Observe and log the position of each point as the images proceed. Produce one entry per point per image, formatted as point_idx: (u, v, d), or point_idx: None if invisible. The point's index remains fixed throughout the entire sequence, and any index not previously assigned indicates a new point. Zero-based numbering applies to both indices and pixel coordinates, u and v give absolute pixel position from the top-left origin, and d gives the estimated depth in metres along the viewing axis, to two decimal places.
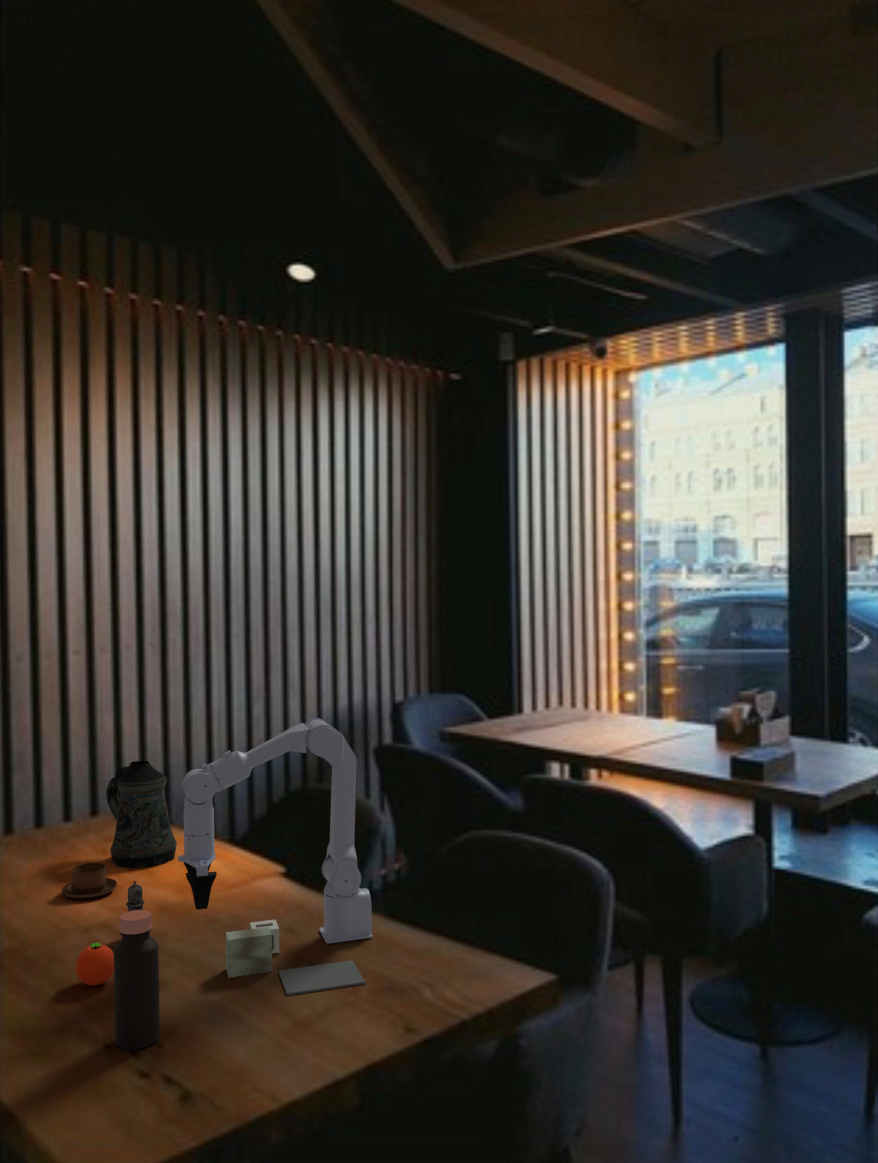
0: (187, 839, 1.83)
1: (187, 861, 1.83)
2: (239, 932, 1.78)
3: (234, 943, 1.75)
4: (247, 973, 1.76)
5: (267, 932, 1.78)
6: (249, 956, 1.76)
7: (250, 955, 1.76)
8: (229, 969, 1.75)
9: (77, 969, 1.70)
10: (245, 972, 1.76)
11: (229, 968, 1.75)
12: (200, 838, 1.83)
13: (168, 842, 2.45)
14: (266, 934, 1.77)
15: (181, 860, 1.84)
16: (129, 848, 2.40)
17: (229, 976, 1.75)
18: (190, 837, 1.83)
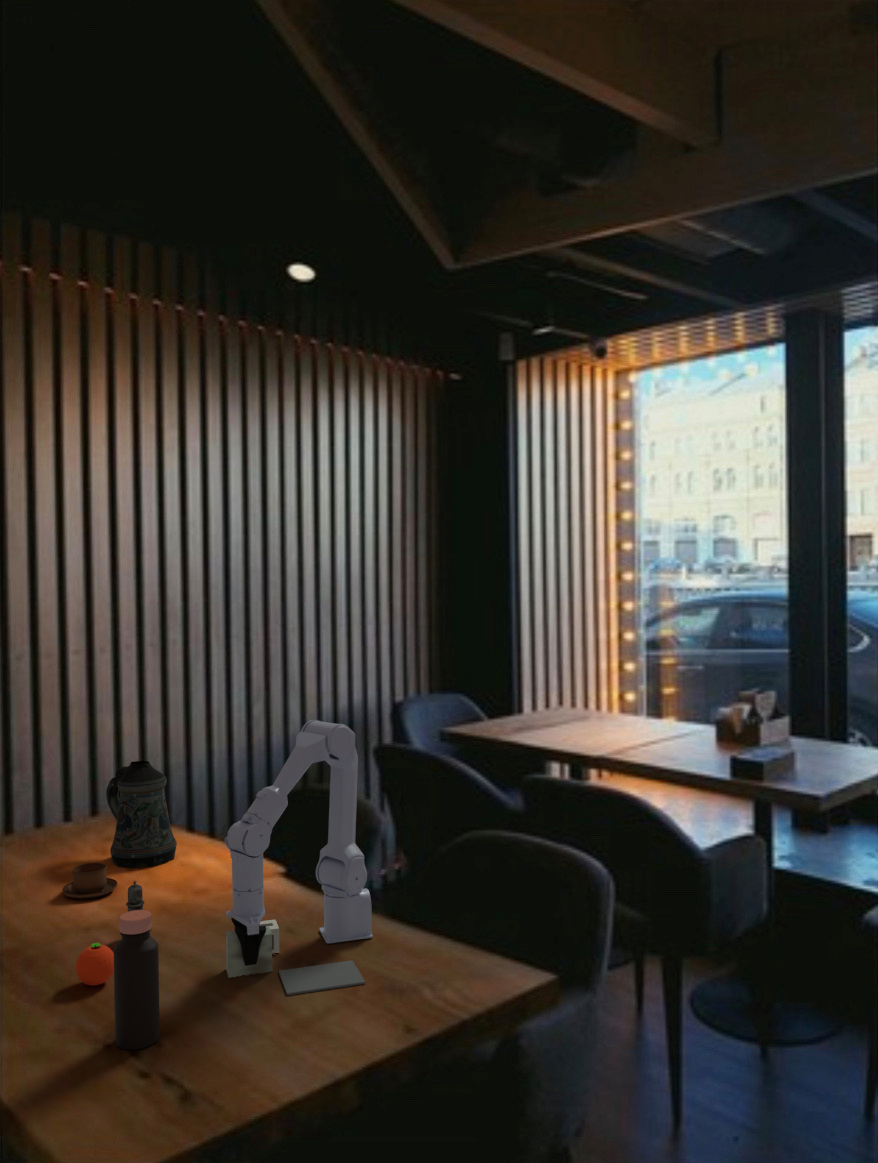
0: (236, 894, 1.75)
1: (236, 918, 1.75)
2: None
3: (234, 942, 1.75)
4: (247, 973, 1.76)
5: (267, 932, 1.78)
6: None
7: None
8: (229, 969, 1.75)
9: (77, 969, 1.70)
10: (245, 972, 1.76)
11: (229, 968, 1.75)
12: (250, 894, 1.75)
13: (168, 842, 2.45)
14: (266, 933, 1.77)
15: (230, 916, 1.76)
16: (129, 848, 2.40)
17: (229, 976, 1.75)
18: (239, 892, 1.75)
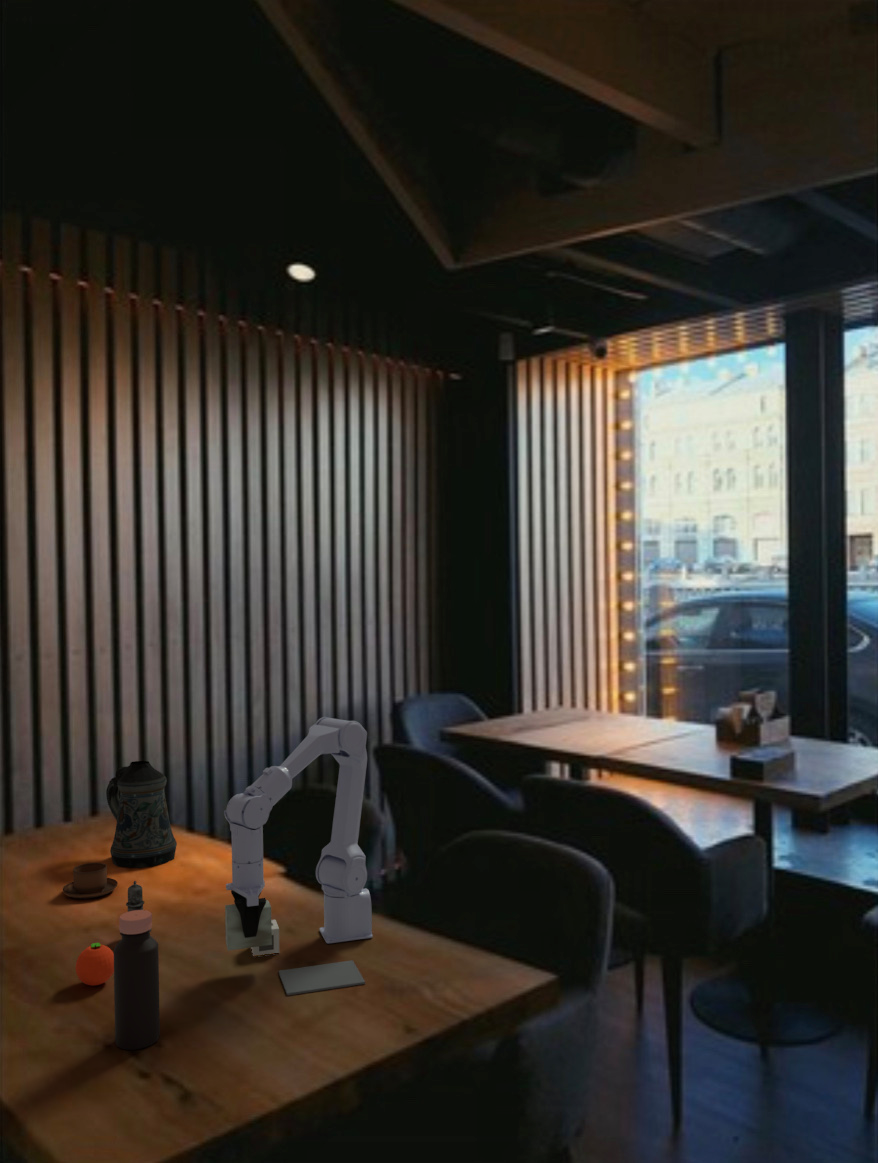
0: (236, 867, 1.75)
1: (236, 890, 1.75)
2: None
3: (233, 915, 1.75)
4: (246, 946, 1.76)
5: (266, 905, 1.78)
6: None
7: None
8: (228, 941, 1.75)
9: (77, 969, 1.70)
10: (244, 945, 1.76)
11: (228, 940, 1.75)
12: (249, 866, 1.75)
13: (168, 842, 2.45)
14: (265, 906, 1.77)
15: (229, 889, 1.76)
16: (129, 848, 2.40)
17: (228, 948, 1.75)
18: (239, 865, 1.75)
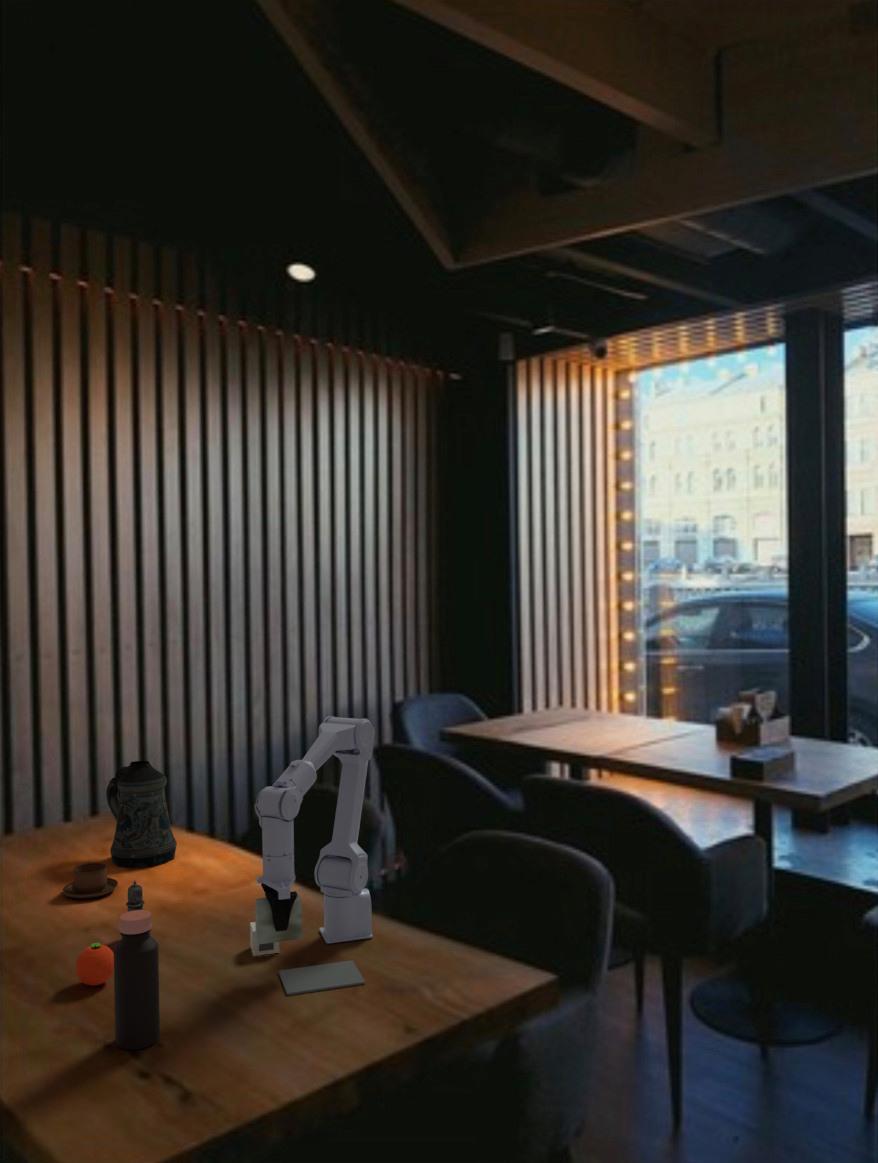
0: (267, 860, 1.74)
1: (267, 883, 1.73)
2: None
3: (264, 908, 1.73)
4: (277, 939, 1.74)
5: (297, 899, 1.76)
6: None
7: None
8: (259, 935, 1.73)
9: (77, 969, 1.70)
10: (275, 938, 1.74)
11: (259, 934, 1.73)
12: (280, 859, 1.73)
13: (168, 842, 2.45)
14: (296, 900, 1.75)
15: (260, 882, 1.74)
16: (129, 848, 2.40)
17: (259, 942, 1.73)
18: (270, 858, 1.73)
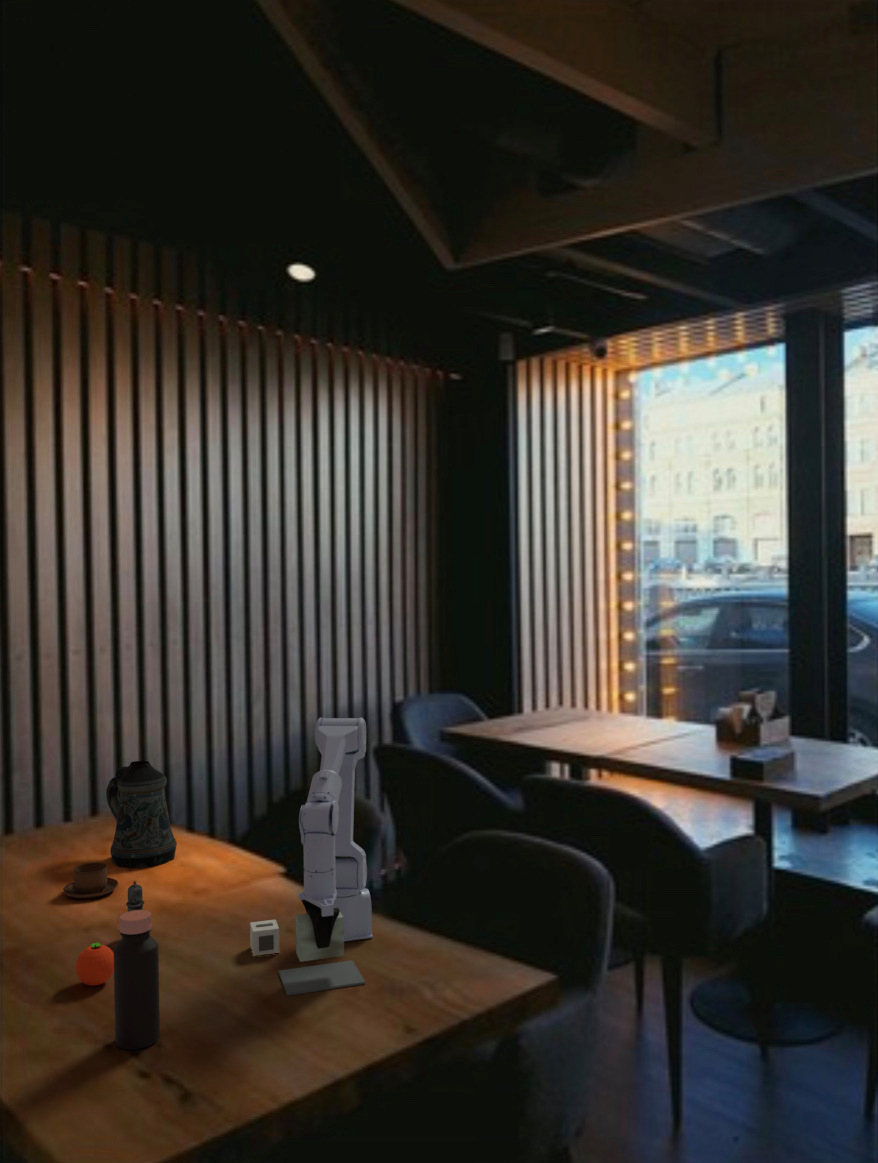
0: (308, 876, 1.71)
1: (309, 899, 1.71)
2: None
3: (306, 925, 1.71)
4: (319, 957, 1.72)
5: (338, 915, 1.74)
6: None
7: None
8: (301, 952, 1.71)
9: (77, 969, 1.70)
10: (317, 955, 1.72)
11: (301, 951, 1.71)
12: (323, 875, 1.71)
13: (168, 842, 2.45)
14: (338, 916, 1.73)
15: (302, 898, 1.72)
16: (129, 848, 2.40)
17: (301, 959, 1.71)
18: (312, 874, 1.71)
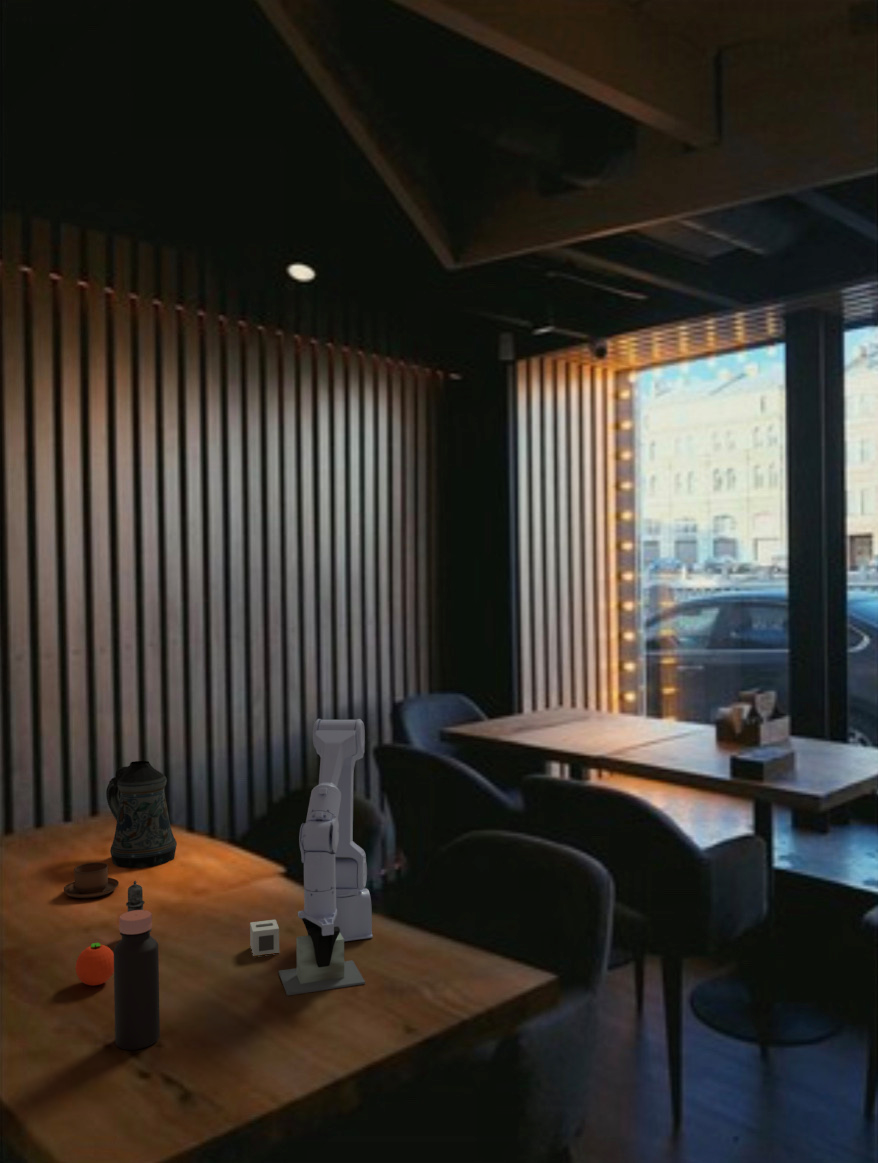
0: (309, 894, 1.71)
1: (309, 918, 1.71)
2: (310, 937, 1.74)
3: (306, 947, 1.71)
4: (319, 979, 1.72)
5: (339, 937, 1.74)
6: None
7: None
8: (301, 975, 1.71)
9: (77, 969, 1.70)
10: (317, 978, 1.72)
11: (301, 974, 1.71)
12: (323, 893, 1.71)
13: (168, 842, 2.45)
14: (338, 938, 1.73)
15: (302, 917, 1.72)
16: (129, 848, 2.40)
17: (301, 982, 1.71)
18: (312, 892, 1.71)
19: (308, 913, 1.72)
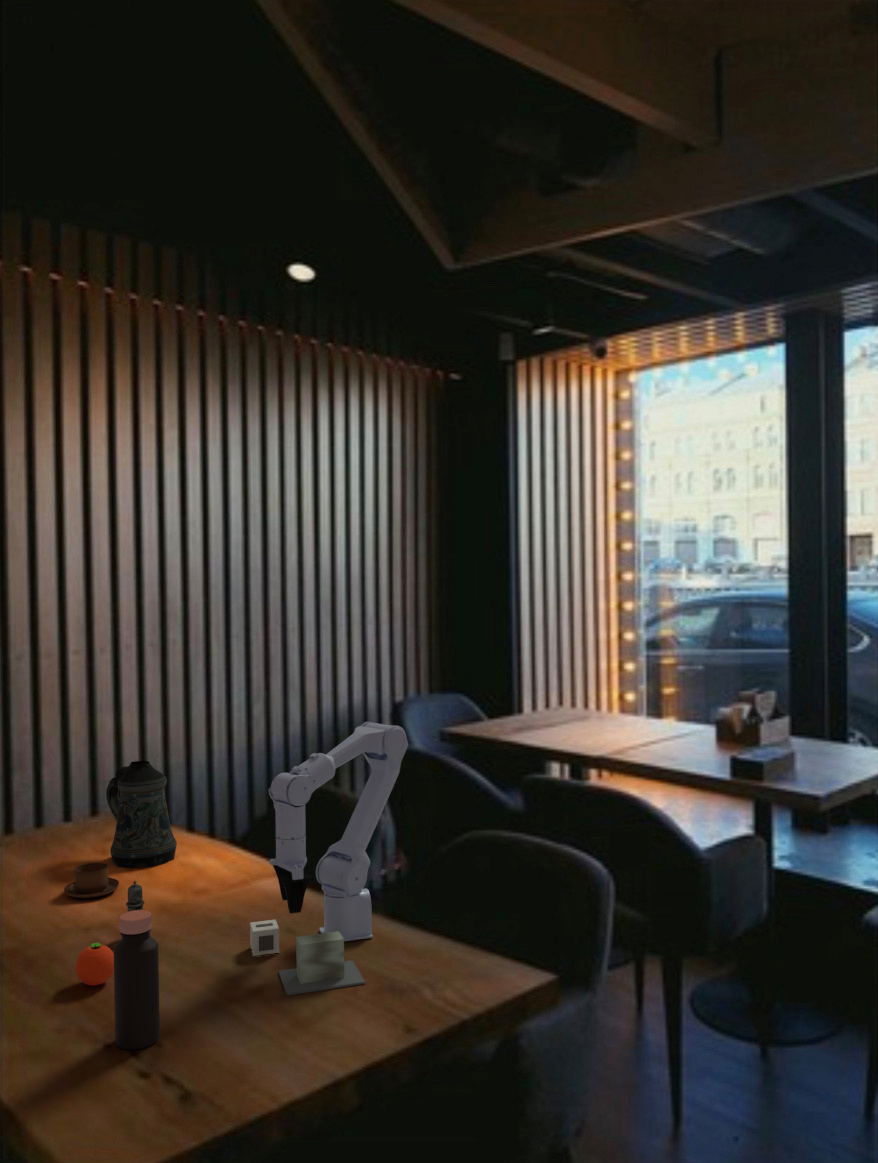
0: (280, 842, 1.83)
1: (280, 865, 1.82)
2: (310, 937, 1.74)
3: (306, 947, 1.71)
4: (319, 979, 1.72)
5: (339, 937, 1.74)
6: (321, 961, 1.72)
7: (322, 960, 1.72)
8: (301, 974, 1.71)
9: (77, 969, 1.70)
10: (317, 977, 1.72)
11: (301, 973, 1.71)
12: (293, 841, 1.82)
13: (168, 842, 2.45)
14: (338, 938, 1.73)
15: (274, 864, 1.83)
16: (129, 848, 2.40)
17: (301, 982, 1.71)
18: (283, 840, 1.82)
19: (279, 860, 1.83)
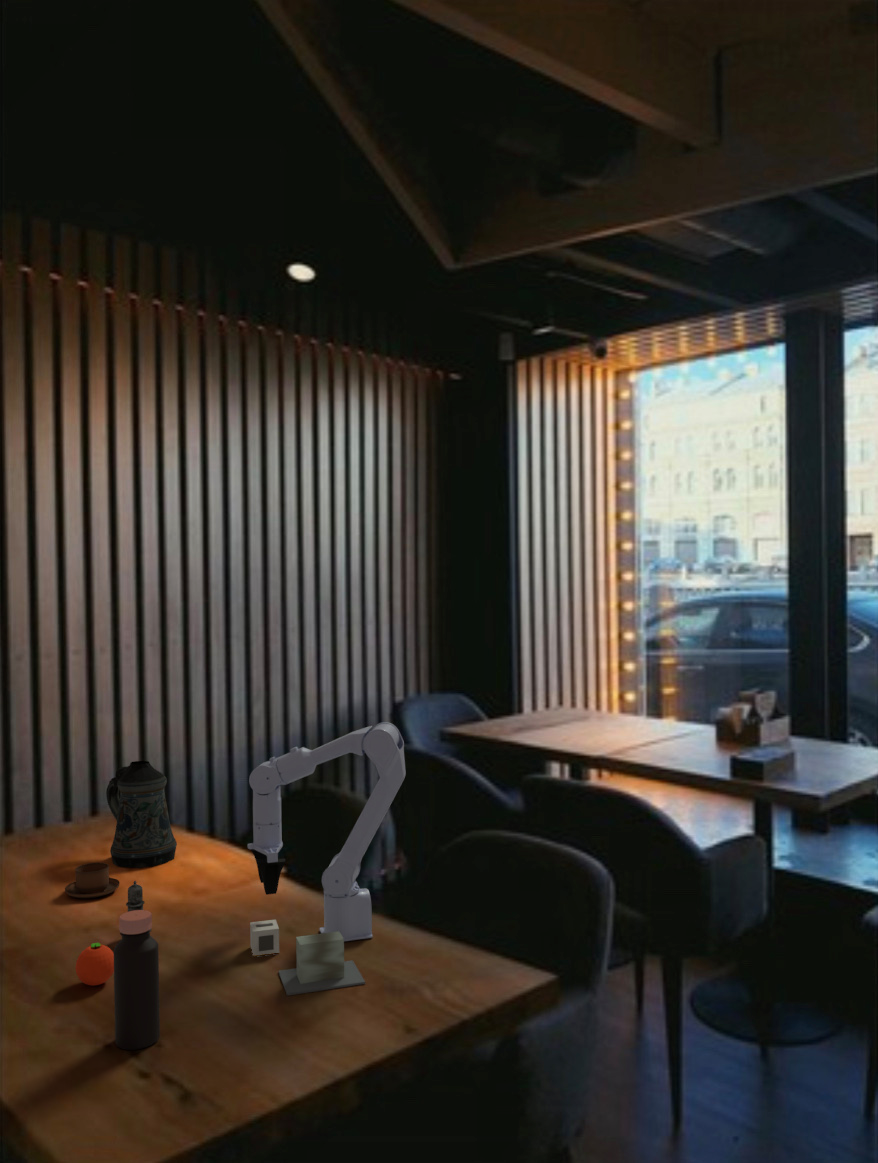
0: (257, 828, 1.93)
1: (257, 849, 1.93)
2: (310, 937, 1.74)
3: (306, 947, 1.71)
4: (319, 979, 1.72)
5: (339, 937, 1.74)
6: (321, 961, 1.72)
7: (322, 960, 1.72)
8: (301, 974, 1.71)
9: (77, 969, 1.70)
10: (317, 977, 1.72)
11: (301, 973, 1.71)
12: (269, 827, 1.93)
13: (168, 842, 2.45)
14: (338, 938, 1.73)
15: (251, 848, 1.94)
16: (129, 848, 2.40)
17: (301, 982, 1.71)
18: (260, 826, 1.93)
19: (256, 844, 1.93)
